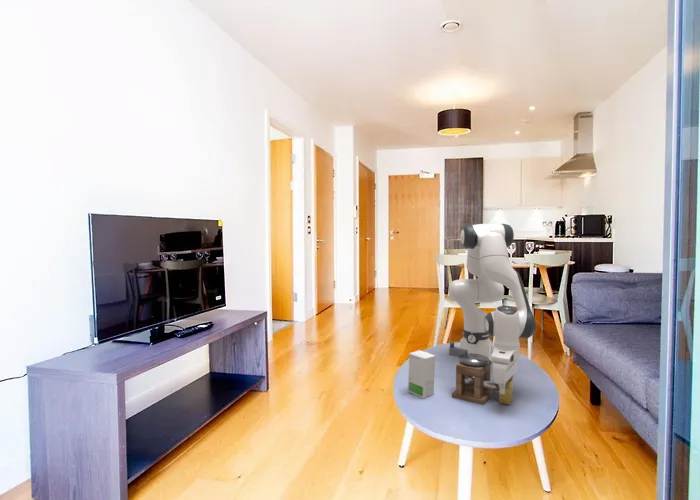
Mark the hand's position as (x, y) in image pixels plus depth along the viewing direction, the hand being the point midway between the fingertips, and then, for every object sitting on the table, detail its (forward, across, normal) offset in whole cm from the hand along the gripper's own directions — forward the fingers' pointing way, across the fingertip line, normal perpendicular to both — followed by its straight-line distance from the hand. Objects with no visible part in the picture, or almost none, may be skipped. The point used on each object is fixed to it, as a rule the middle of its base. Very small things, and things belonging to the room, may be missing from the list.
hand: (506, 388), depth 147 cm
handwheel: (-8, -1, -14) cm, 16 cm away
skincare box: (+5, +10, -29) cm, 31 cm away
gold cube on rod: (+5, 0, -8) cm, 9 cm away
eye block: (+5, 0, -12) cm, 13 cm away
